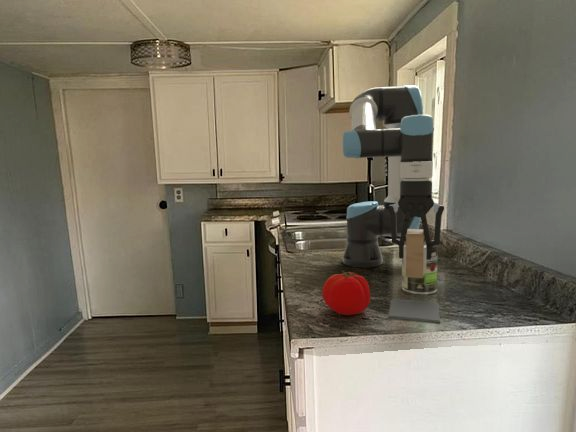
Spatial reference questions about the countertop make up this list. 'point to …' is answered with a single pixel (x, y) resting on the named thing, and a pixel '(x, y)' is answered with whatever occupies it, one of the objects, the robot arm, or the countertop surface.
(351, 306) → the tomato
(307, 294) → the countertop surface
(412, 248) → the tan rectangular block
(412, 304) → the rubber mat
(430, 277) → the coffee can
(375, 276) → the countertop surface
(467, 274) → the countertop surface
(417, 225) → the robot arm
